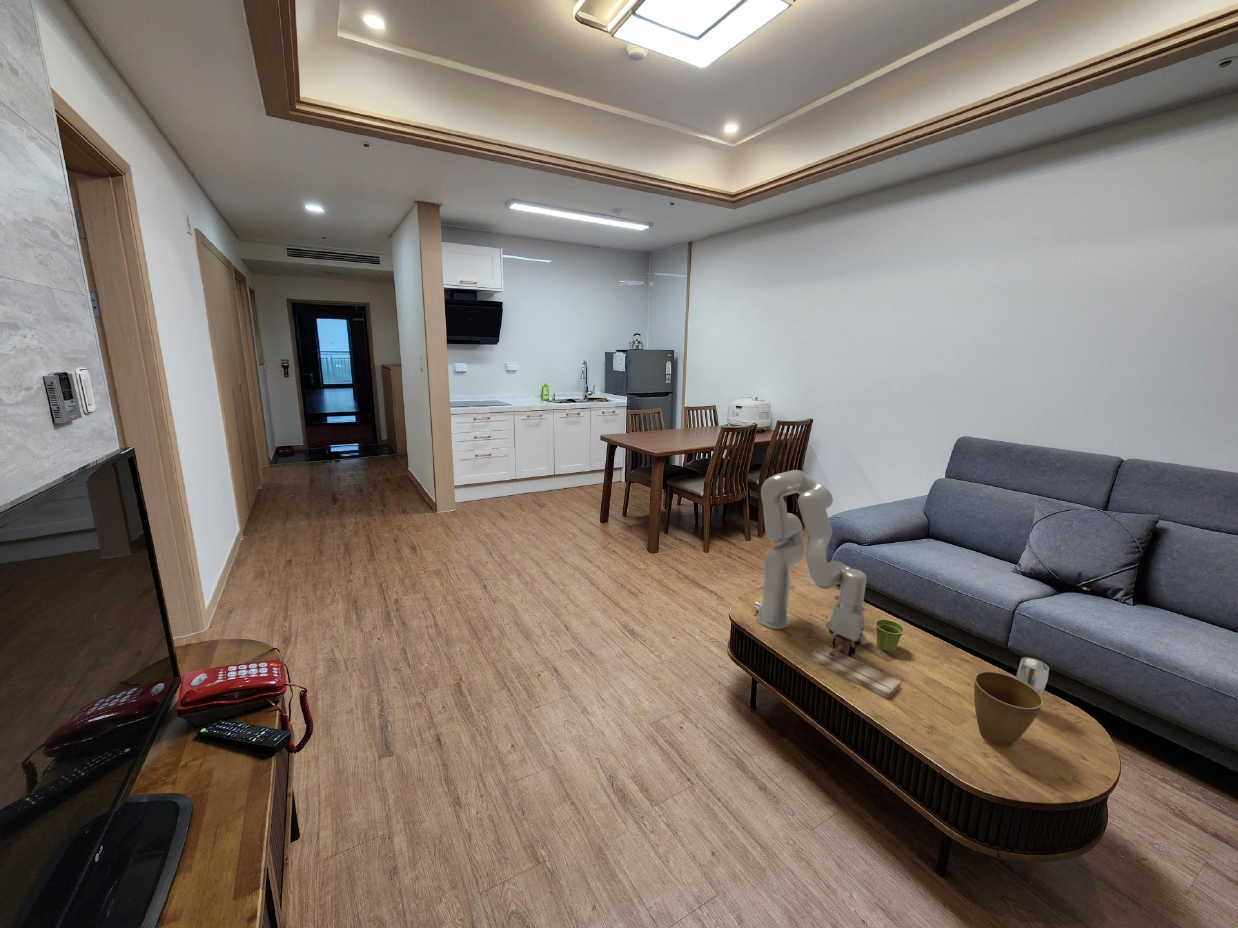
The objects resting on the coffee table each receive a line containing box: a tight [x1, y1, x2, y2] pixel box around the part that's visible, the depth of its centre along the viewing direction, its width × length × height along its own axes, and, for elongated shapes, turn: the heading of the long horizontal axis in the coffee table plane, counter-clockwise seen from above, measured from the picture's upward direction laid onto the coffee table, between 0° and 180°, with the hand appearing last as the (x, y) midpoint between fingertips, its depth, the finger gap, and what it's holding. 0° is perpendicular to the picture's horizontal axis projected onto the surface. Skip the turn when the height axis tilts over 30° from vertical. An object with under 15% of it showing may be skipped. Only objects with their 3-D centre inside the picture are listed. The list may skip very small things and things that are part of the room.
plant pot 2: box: [973, 670, 1044, 748], centre depth 137 cm, size 15×15×16 cm
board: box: [809, 643, 901, 700], centre depth 166 cm, size 26×9×2 cm, turn 40°
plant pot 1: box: [874, 618, 905, 653], centre depth 180 cm, size 9×9×9 cm
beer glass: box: [1015, 657, 1050, 697], centre depth 150 cm, size 7×7×15 cm
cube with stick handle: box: [829, 634, 851, 657], centre depth 173 cm, size 5×11×6 cm, turn 130°
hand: (843, 650), depth 176 cm, fingers closed on cube with stick handle, 5 cm apart
